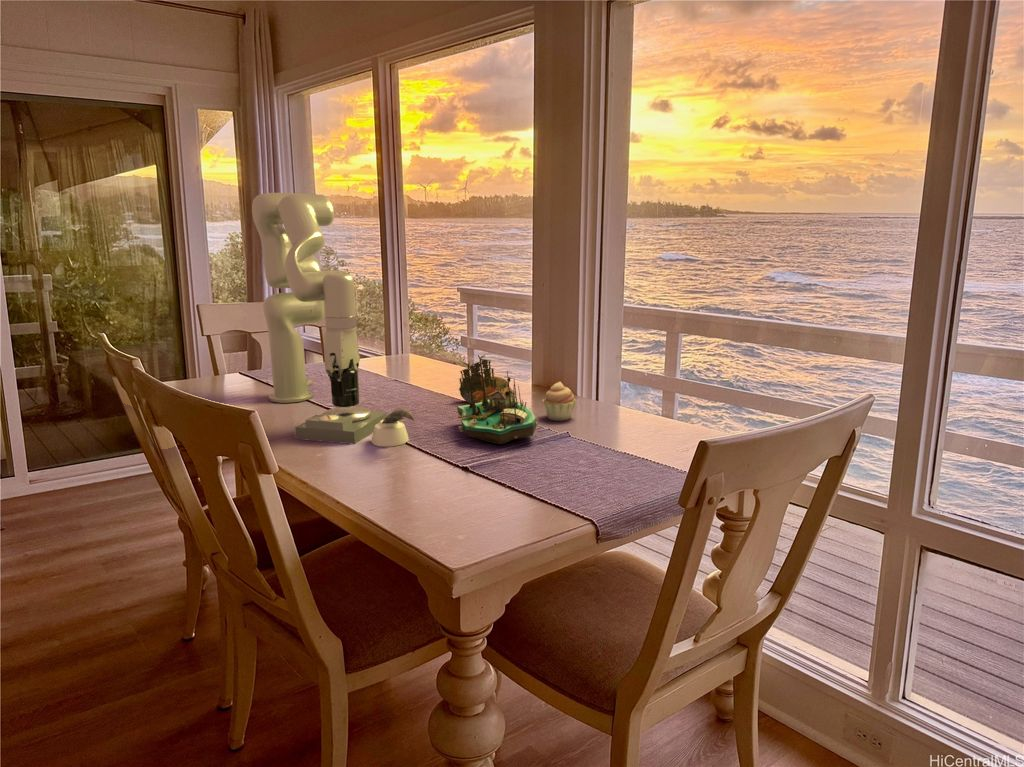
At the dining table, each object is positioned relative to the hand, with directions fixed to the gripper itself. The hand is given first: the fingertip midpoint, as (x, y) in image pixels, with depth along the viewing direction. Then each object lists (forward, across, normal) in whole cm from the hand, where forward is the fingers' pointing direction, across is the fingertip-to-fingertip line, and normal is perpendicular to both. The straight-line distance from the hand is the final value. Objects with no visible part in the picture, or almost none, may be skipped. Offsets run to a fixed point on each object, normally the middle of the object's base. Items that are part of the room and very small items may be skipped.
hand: (345, 392), depth 184 cm
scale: (+10, +3, 0) cm, 10 cm away
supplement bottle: (+4, 0, 0) cm, 4 cm away
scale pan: (+6, 0, 0) cm, 6 cm away
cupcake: (+10, -22, +51) cm, 57 cm away
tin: (+10, -32, +27) cm, 43 cm away
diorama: (+10, -4, +38) cm, 40 cm away
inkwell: (+10, +10, +19) cm, 24 cm away
